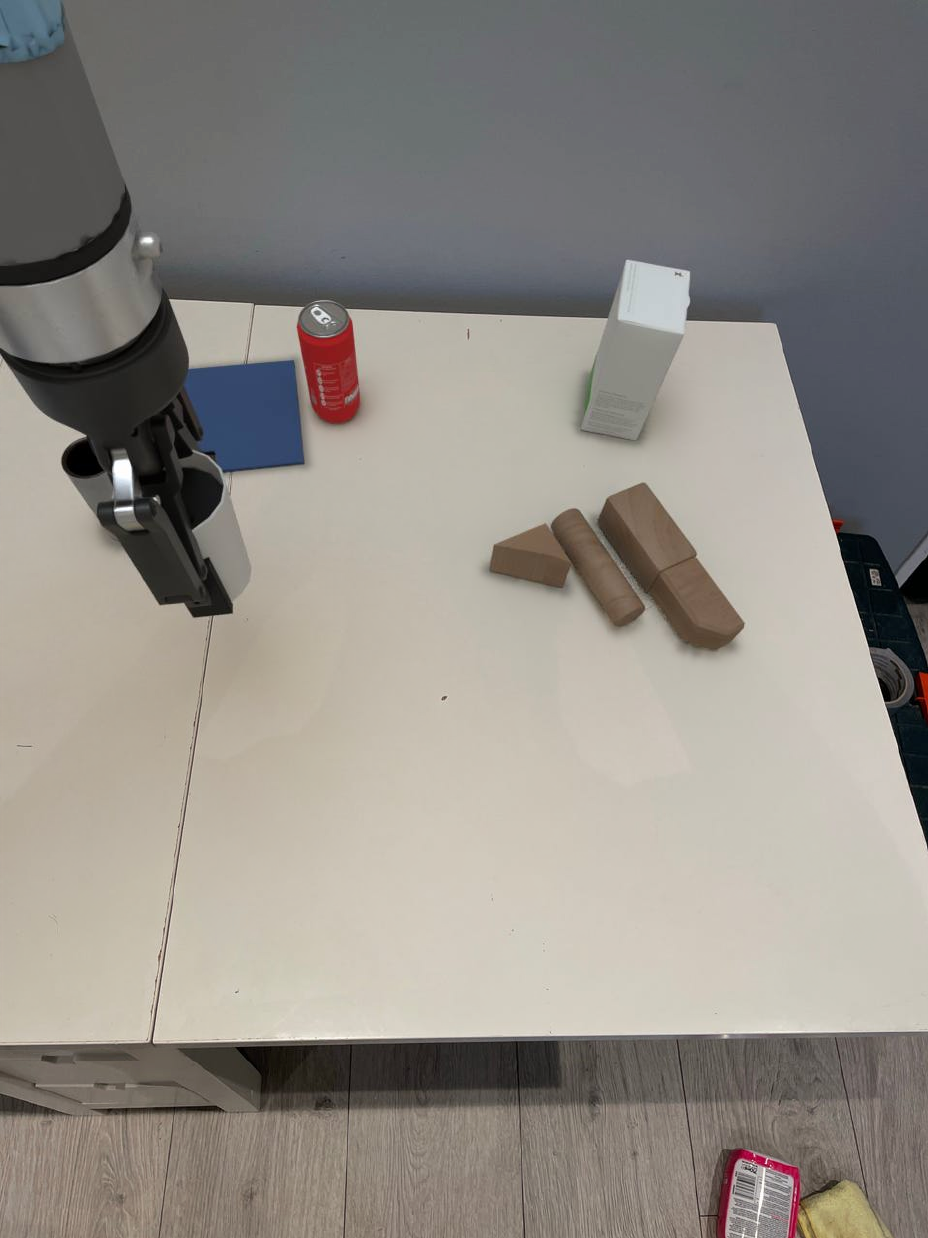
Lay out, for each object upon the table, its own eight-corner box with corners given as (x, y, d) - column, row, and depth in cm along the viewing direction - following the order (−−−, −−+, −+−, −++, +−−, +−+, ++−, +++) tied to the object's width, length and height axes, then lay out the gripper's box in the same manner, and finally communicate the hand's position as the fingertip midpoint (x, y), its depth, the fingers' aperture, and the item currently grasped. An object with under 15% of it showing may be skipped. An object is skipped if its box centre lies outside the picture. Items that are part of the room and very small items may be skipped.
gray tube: (116, 501, 72) (72, 431, 63) (161, 507, 72) (124, 439, 63) (100, 539, 70) (51, 474, 61) (146, 546, 70) (105, 482, 61)
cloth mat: (142, 480, 74) (141, 478, 73) (144, 375, 79) (143, 372, 79) (304, 463, 76) (303, 461, 75) (294, 362, 81) (293, 359, 81)
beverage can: (331, 434, 77) (317, 347, 67) (302, 404, 79) (284, 314, 68) (370, 410, 79) (363, 321, 68) (341, 381, 81) (329, 290, 70)
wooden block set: (643, 466, 71) (756, 617, 64) (627, 500, 76) (731, 644, 69) (488, 529, 67) (593, 699, 60) (483, 561, 72) (579, 720, 65)
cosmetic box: (589, 375, 83) (624, 254, 69) (647, 387, 83) (693, 267, 69) (579, 433, 79) (614, 317, 65) (640, 444, 79) (687, 331, 65)
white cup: (261, 607, 52) (229, 530, 43) (164, 620, 51) (110, 545, 42) (254, 528, 55) (223, 441, 46) (162, 539, 54) (112, 453, 45)
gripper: (163, 476, 29) (271, 686, 49) (171, 168, 36) (261, 461, 57) (-44, 494, 28) (155, 700, 48) (11, 174, 36) (162, 469, 56)
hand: (212, 570), depth 53 cm, fingers closed on white cup, 6 cm apart
